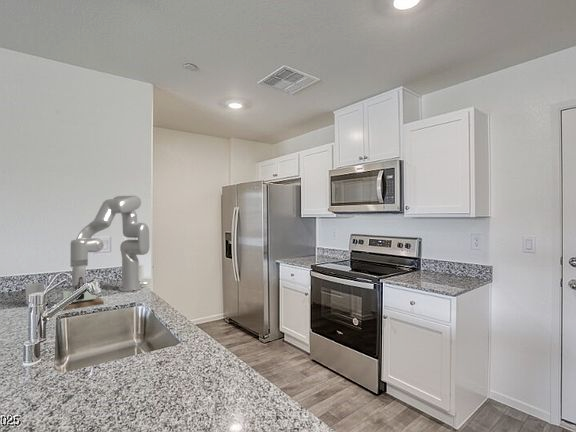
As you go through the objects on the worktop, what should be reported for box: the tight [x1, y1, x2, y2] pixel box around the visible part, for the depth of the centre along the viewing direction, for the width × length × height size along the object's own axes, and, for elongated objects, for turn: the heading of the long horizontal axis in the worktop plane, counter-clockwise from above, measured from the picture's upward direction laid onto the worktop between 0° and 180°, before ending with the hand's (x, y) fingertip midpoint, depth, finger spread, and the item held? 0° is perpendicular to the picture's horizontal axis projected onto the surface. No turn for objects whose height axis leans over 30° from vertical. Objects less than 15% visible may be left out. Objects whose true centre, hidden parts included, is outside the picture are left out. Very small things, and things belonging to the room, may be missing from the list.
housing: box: [61, 288, 97, 302], centre depth 164 cm, size 14×6×6 cm, turn 131°
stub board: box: [53, 296, 104, 311], centre depth 164 cm, size 20×12×5 cm, turn 131°
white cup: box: [24, 282, 45, 306], centre depth 169 cm, size 8×8×10 cm
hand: (79, 297), depth 164 cm, fingers closed on housing, 6 cm apart
